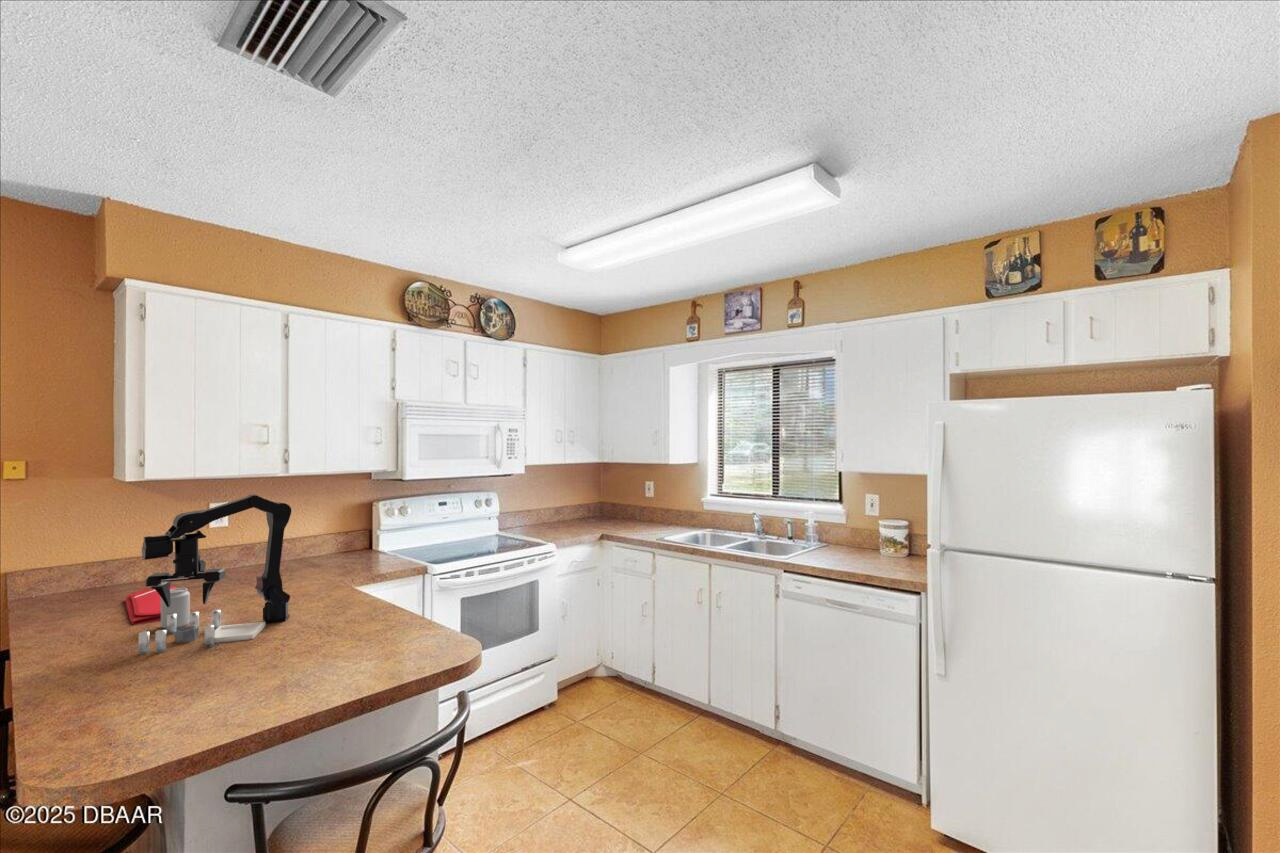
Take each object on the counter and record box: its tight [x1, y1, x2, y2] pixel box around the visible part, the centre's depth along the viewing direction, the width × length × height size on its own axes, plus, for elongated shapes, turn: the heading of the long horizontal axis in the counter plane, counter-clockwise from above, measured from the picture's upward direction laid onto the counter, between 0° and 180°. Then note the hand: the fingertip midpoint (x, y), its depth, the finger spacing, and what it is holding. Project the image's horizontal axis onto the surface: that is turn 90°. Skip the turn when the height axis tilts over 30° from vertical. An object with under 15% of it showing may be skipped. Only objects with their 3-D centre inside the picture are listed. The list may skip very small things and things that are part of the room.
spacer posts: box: [138, 609, 222, 656], centre depth 177 cm, size 18×20×6 cm
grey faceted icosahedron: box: [174, 625, 199, 644], centre depth 177 cm, size 5×6×4 cm
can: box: [160, 587, 191, 630], centre depth 190 cm, size 8×8×12 cm
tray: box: [203, 621, 266, 645], centre depth 181 cm, size 13×13×2 cm
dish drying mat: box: [125, 585, 177, 626], centre depth 212 cm, size 16×41×4 cm, turn 44°
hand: (186, 605), depth 178 cm, fingers open, 9 cm apart
